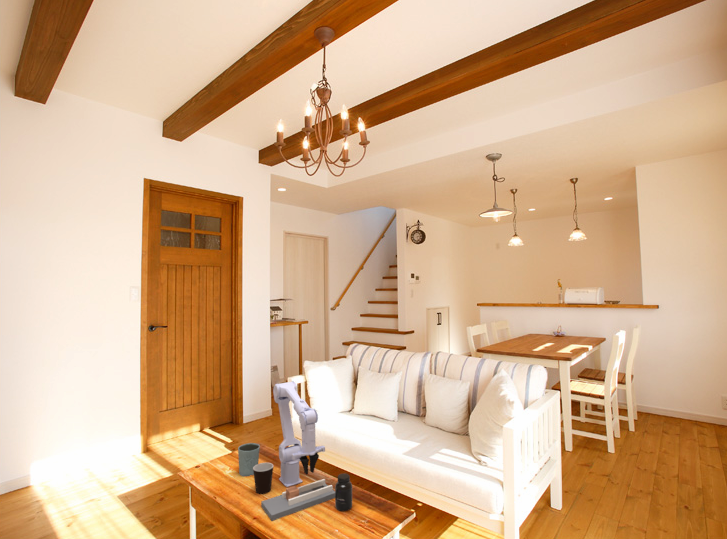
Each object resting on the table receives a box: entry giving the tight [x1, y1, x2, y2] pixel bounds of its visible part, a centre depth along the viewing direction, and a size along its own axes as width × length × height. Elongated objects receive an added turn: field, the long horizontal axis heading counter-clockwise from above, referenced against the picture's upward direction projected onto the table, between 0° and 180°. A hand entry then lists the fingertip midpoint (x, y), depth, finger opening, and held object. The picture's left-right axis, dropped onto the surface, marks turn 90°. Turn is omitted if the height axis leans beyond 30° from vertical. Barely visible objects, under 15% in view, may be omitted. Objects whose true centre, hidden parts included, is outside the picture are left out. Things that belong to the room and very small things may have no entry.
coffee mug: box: [253, 462, 274, 495], centre depth 166 cm, size 12×9×10 cm
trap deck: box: [260, 482, 335, 522], centre depth 155 cm, size 12×28×2 cm, turn 124°
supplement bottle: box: [334, 473, 353, 512], centre depth 151 cm, size 7×7×12 cm
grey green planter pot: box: [237, 442, 261, 477], centre depth 182 cm, size 10×10×12 cm
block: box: [285, 485, 299, 500], centre depth 153 cm, size 4×4×4 cm
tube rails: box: [281, 478, 334, 506], centre depth 157 cm, size 8×20×2 cm, turn 124°
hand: (309, 472), depth 158 cm, fingers open, 2 cm apart
